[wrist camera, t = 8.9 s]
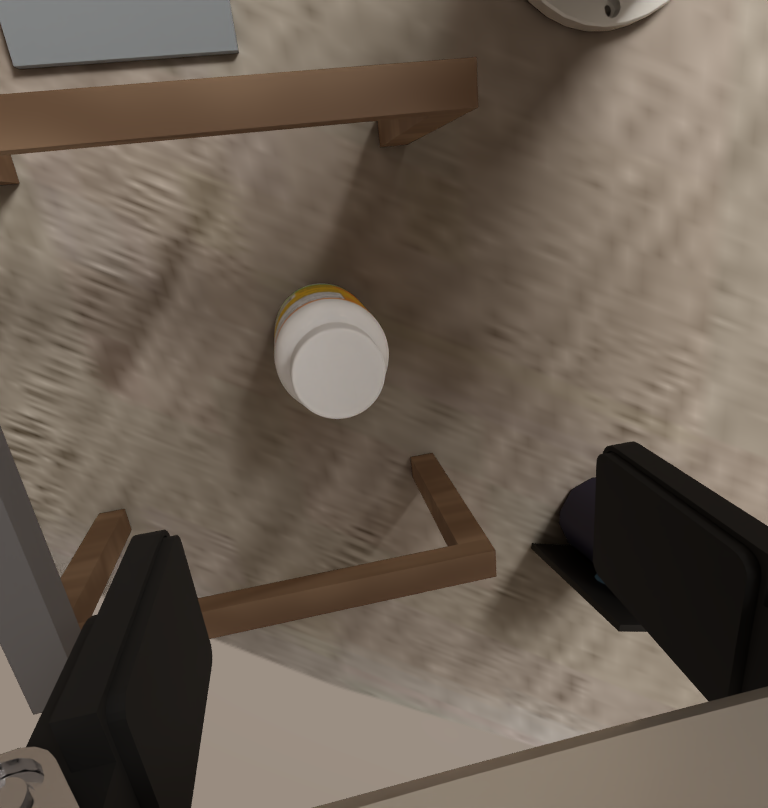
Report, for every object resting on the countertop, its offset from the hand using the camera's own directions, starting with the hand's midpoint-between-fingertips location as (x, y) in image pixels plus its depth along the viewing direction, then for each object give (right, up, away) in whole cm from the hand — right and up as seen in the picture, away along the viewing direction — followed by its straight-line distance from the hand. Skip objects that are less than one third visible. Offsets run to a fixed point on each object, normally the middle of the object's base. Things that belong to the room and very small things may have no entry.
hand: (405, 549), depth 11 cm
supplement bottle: (-4, +7, +21) cm, 22 cm away
